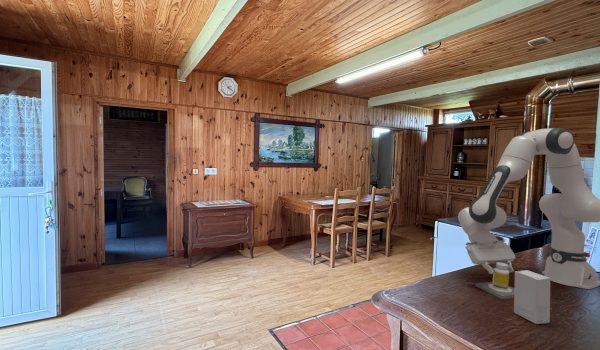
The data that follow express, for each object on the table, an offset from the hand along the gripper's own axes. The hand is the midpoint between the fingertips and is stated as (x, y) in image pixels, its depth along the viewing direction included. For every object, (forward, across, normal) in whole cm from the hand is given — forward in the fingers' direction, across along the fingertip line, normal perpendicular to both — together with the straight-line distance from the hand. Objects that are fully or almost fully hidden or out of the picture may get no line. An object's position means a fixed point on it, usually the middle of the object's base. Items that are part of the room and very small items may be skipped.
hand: (502, 272), depth 121 cm
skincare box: (+19, -9, -7) cm, 22 cm away
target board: (+5, 0, +6) cm, 8 cm away
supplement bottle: (+4, 0, +5) cm, 7 cm away
